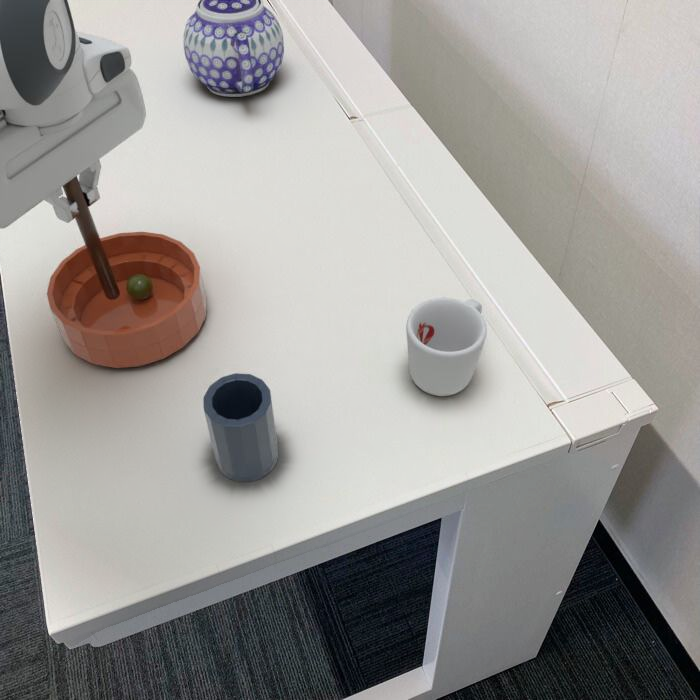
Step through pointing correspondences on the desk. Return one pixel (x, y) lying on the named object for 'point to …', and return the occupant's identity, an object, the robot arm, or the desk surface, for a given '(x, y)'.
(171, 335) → the bowl
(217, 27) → the teapot
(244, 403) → the crock
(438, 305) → the cup
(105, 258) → the stick
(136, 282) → the bead
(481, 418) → the desk surface
